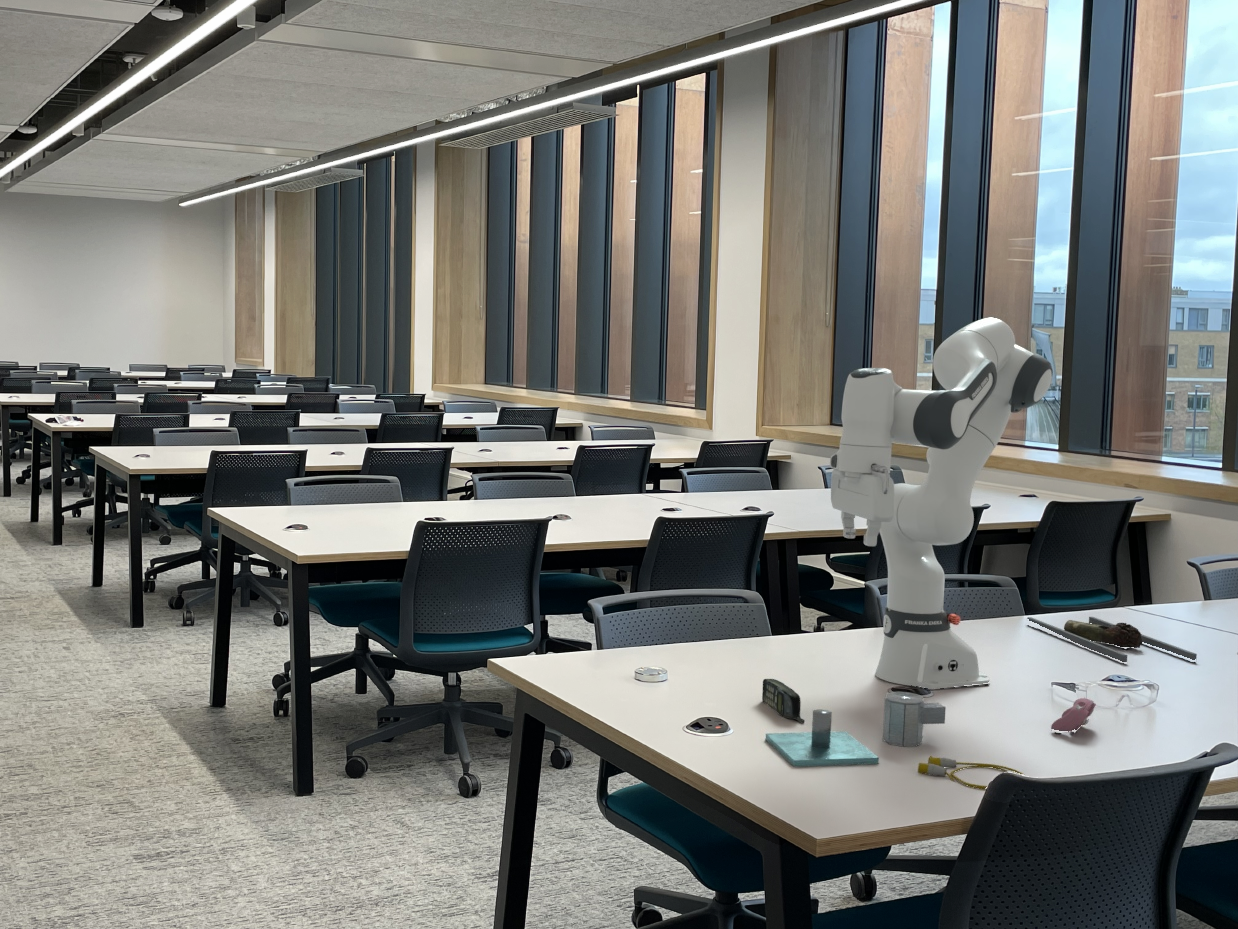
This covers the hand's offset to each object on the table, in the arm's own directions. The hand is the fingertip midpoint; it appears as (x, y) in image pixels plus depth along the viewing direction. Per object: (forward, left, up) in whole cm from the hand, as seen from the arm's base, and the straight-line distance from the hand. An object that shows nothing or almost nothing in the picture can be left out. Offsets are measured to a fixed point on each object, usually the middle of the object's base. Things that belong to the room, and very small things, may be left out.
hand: (859, 541), depth 214 cm
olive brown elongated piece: (-86, -57, -33) cm, 108 cm away
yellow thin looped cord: (-9, +28, -33) cm, 44 cm away
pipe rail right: (-96, -58, -32) cm, 116 cm away
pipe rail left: (-79, -58, -32) cm, 103 cm away
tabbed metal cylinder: (-7, +10, -32) cm, 34 cm away
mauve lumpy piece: (-39, +7, -33) cm, 51 cm away
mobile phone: (+10, -8, -33) cm, 35 cm away
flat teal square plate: (+11, +14, -32) cm, 37 cm away
